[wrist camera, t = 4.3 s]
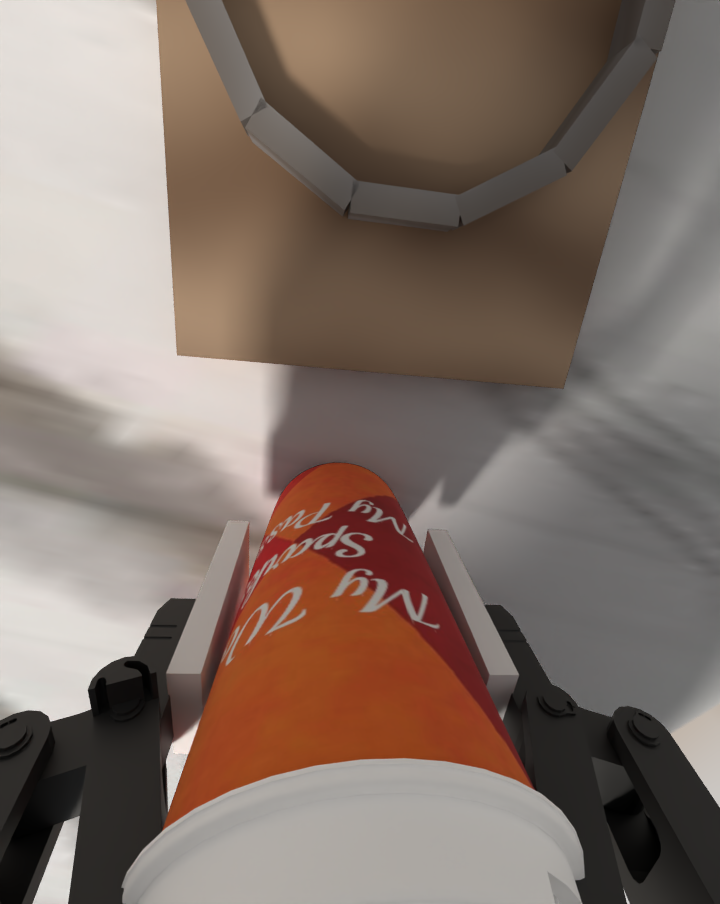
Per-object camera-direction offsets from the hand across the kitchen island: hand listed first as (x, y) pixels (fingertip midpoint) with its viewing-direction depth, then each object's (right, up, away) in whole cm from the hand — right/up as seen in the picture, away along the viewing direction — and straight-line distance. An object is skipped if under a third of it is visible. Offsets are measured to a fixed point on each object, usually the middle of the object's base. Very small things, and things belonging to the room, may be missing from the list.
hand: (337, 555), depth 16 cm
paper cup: (0, +1, +3) cm, 3 cm away
